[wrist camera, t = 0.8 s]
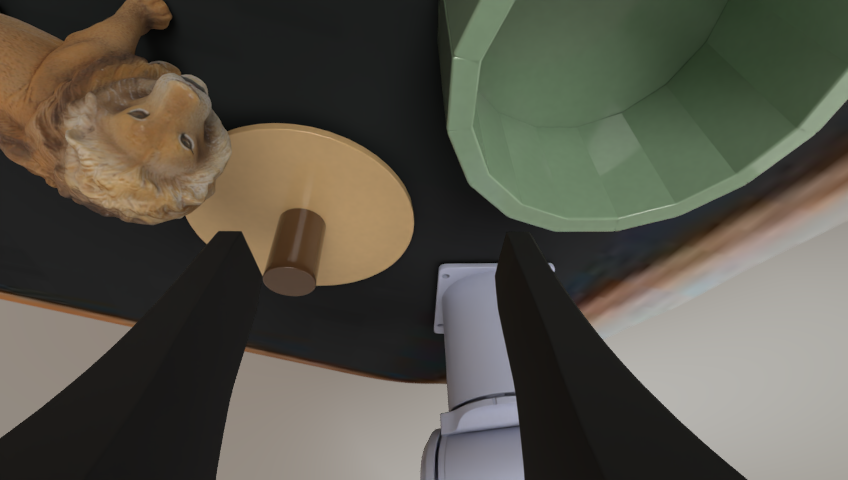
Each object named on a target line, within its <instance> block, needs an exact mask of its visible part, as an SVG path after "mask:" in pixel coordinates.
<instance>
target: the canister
mask: <svg viewBox="0 0 848 480" xmlns="http://www.w3.org/2000/svg"><path fill="white" fill-rule="evenodd" d="M437 42H438V51H439V61H440V71H441V80H442V90H443V100H444V109H445V119H446V128H447V134H448V136H449V139H450V141H451V144H452V146H453V148H454V151H455V153H456V156H457V158H458V160H459V163H460V165H461V168H462V170H463V173H464V175H465V177H466V180H467V182H468V183H469V185H470V186H471V187H472V188H473V189H475V190H476V191H477V192H478V193H479V194H481V195H482V196H483V197H484V198H485V199H487V200H488V201H489V202H490V203H491V204H493V205H494V206H495V207H496V208H497V209H498V210H500V211H501V212H502V213H503V214H504V215H506V216H507V217H509V218H512V219H515V220H518V221H522V222H525V223H528V224H531V225H535V226H538V227H541V228H545V229H548V230H551V231H554V232H613V231H620V230H624V229H628V228H632V227H636V226H640V225H644V224H649V223H653V222H657V221H661V220H665V219H669V218H673V217H677V216H678V215H679V216H680V215H682V214H685V213H687V212H689V211H691V210H693V209H695V208H697V207H699V206H702V205H704V204H706V203H708V202H710V201H712V200H714V199H716V198H719V197H721V196H723V195H725V194H727V193H729V192H731V191H734V190H736V189H738V188H740V187H742V186H744V185H746V183H749V182H750V181H752V180H753V179H755V178H756V177H757V176H759V175H760V174H761V173H763V172H764V171H766V170H767V169H768V168H770V167H771V166H772V165H774V164H775V163H777V162H778V161H779V160H781V159H782V158H783V157H785V156H786V155H788V154H789V153H790V152H792V151H793V150H794V149H796V148H797V147H799V146H800V145H801V144H803V143H804V142H805V141H807V140H808V139H810V138H811V137H812V136H814V135H815V134H816V132H818V131H820V129H821V128H822V127H823V126H824V125H825V124H826V123H827V122H828V121H829V119H830V118H831V117H832V116H833V115H834V114H835V113H836V112H837V110H838V109H839V108H840V107H841V106H842V105H843V104H844V103H845V102H846V100H847V99H848V0H439V5H438V41H437Z"/></svg>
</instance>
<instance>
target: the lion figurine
mask: <svg viewBox="0 0 848 480" xmlns="http://www.w3.org/2000/svg"><path fill="white" fill-rule="evenodd" d="M171 19H172V14H171V12H170V11H169V8H168V6H167V5H166V3H165V2H164V1H163V0H126V1H125V2H124V4H123V5H122V6H121V7H120V8H119V9H118V11H117V12H116V13H115V15H113V16H112V17H110V18H108V19H106V20H104V21H102V22H100V23H97V24H95V25H93V26H91V27H89V28H87V29H84V30H82V31H77V32H74V33H72V34H70V35H69V36H67V37H66V39H65V41H62V40H61V39H59V38H57V37H55V36H53V35H51V34H49V33H47V32H45V31H42V30H40V29H38V28H36V27H34V26H32V25H30V24H28V23H25V22H23V21H21V20H18V19H16V18H13V17H10V16H7V15H4V14H1V13H0V149H1V150H2V151H3V152H4V154H5V155H6V156H7V157H8V158H9V159H10V160H12V161H14V162H15V163H17V164H19V165H22V166H24V167H25V168H26V169H27V170H29V171H30V172H31V173H33V174H35V175H39V176H41V177H43V178H44V179H45V181H46V183H47V184H48V185H50V186H51V187H55V188H58V191H59V193H60V195H61V196H63V197H65V198H72V199H73V200H74V202H76V203H78V204H83V205H85V206H86V207H87V208H89V209H91V210H92V211H94V212H97V213H100V214H101V215H102V216H105V217H112V216H114V217H117V218H120V219H121V220H123V221H125V222H133V223H138V224H148V225H156V224H159V223H162V222H165V221H169V220H172V219H180V218H182V217H184V216H185V215H188V214H190V213H192V212H193V211H194V210H195V209H197V208H198V207H199V206H200V205H201V204H202V203H204V202H205V200H207V199H208V198H210V197H211V196H212V195H213V194H214V193H215V185H216V179H217V178H218V177H219V176H220V175H221V174H222V173H223V172H224V169H225V167H226V165H227V162H228V160H229V159H230V157H231V154H232V147H231V140H230V137H229V135H228V132H227V131H226V129H225V128H224V127H223V125H222V124H221V120H220V119H219V117H218V116H217V115H216V114H215V112H214V111H213V110H212V109H211V100H210V98H209V97H208V90H207V86H206V84H205V83H204V82H203V81H202V80H200V79H199V78H197V77H195V76H193V75H187V74H185V75H181V72H180V70H179V69H178V68H177V67H175V66H174V65H172V64H170V63H167V62H164V61H153V62H150V63H148V61H147V60H146V59H145V58H142V57H139V56H136V55H135V49H136V46H137V43H138V41H139V39H140V37H141V36H142V35H144V34H146V33H147V32H148V31H149V30H150V29H165V28H167V27H168V25H169V22H170V20H171Z"/></svg>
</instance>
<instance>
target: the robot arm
mask: <svg viewBox="0 0 848 480" xmlns="http://www.w3.org/2000/svg"><path fill="white" fill-rule="evenodd" d="M554 271H555V268H554V265H553V264H552V263H548V262H547V260H546V259H545V257H544V255H543V254H542V252H541V250H540V249H539V247H538V245H537V244H536V242H535V240H534V238H533V237H532V235H531V234H530V233H529V232H507V233H506V237H505V240H504V244H503V247H502V251H501V254H500V258H499V262H498V263H457V264H442V265H441V266H439V270H438V282H437V294H436V307H435V319H434V332H435V333H438V334H444V341H445V357H446V373H447V388H448V405H449V412H446V413H441V414H440V418H441V429H436V430H435V431H433V432H432V434H431V436H430V438H429V440H428V442H427V444H426V446H425V448H424V451H423V456H422V461H421V480H747V479H746V478H745V477H744V476H742V475H741V474H740V473H739V472H738V471H736V470H735V469H734V468H733V467H732V466H730V465H729V464H728V463H727V462H725V461H724V460H723V459H722V458H721V457H720V456H718V455H717V454H716V453H715V452H714V451H712V450H711V449H710V448H709V447H708V446H707V445H706V444H704V443H703V442H702V441H701V440H700V439H699V438H698V437H697V436H696V435H695V434H693V433H692V432H691V431H690V430H689V429H688V428H687V427H686V426H684V425H683V424H682V423H681V422H680V421H679V420H678V419H677V418H676V417H675V416H674V415H673V414H672V413H671V412H670V411H669V410H668V409H667V408H666V407H665V406H664V405H663V404H662V403H661V402H660V401H659V400H658V399H657V398H656V397H655V396H654V395H653V394H652V393H651V392H650V391H649V390H648V389H646V388H645V387H644V386H643V385H642V383H641V382H640V381H639V380H638V379H637V378H636V377H635V376H634V375H633V374H632V373H631V372H630V371H629V369H628V368H627V367H626V366H625V365H624V364H623V363H622V362H621V361H620V360H619V358H618V357H617V356H616V355H615V354H614V353H613V351H612V350H611V349H610V348H609V347H608V346H607V345H606V343H605V342H604V341H603V340H602V338H601V337H600V336H599V335H598V333H597V332H596V331H595V330H594V328H593V327H592V326H591V324H590V323H589V322H588V320H587V319H586V318H585V317H584V315H583V314H582V312H581V311H580V310H579V308H578V307H577V306H576V304H575V303H574V301H573V300H572V298H571V297H570V296H569V294H568V293H567V291H566V290H565V288H564V287H563V285H562V284H561V282H560V281H559V279H558V278H557V276H556V275H555V273H554ZM261 281H262V274H261V272H260V270H259V267H258V265H257V263H256V261H255V259H254V257H253V255H252V252H251V250H250V248H249V246H248V244H247V242H246V240H245V237H244V235H243V233H242V231H218V232H217V233H216V234H215V235H214V237H213V238H212V239H211V240H210V241H209V242H208V244H207V245H206V246H205V247H204V248H203V250H202V251H201V252H200V253H199V254H198V255H197V257H196V258H195V259H194V260H193V261H192V263H191V264H190V265H189V266H188V267H187V268H186V270H185V271H184V272H183V273H182V274H181V275H180V277H179V278H178V279H177V280H176V281H175V282H174V283H173V285H172V286H171V287H170V288H169V289H168V290H167V291H166V292H165V294H164V295H163V296H162V297H161V298H160V299H159V300H158V301H157V302H156V303H155V305H154V306H153V307H152V308H151V309H150V310H149V311H148V312H147V313H146V314H145V315H144V316H143V317H142V318H141V319H140V320H139V321H138V322H137V323H136V324H135V325H134V326H133V327H132V328H131V329H130V331H128V332H127V333H126V334H125V335H124V336H123V337H122V338H121V339H120V340H119V341H118V342H117V343H116V344H115V345H114V346H113V347H112V348H111V349H110V350H109V351H108V352H107V353H106V354H104V355H103V356H102V357H101V358H100V359H99V360H98V361H97V362H95V363H94V364H93V365H92V366H91V367H90V368H89V369H88V370H86V371H85V372H84V373H83V374H82V375H81V376H79V377H78V378H77V379H76V380H75V381H73V382H72V383H71V384H70V385H69V386H67V387H66V388H65V389H64V390H63V391H61V392H60V393H59V394H58V395H56V396H55V397H54V398H53V399H51V400H50V401H49V402H48V403H46V404H45V405H44V406H43V407H42V408H40V409H39V410H38V411H36V412H35V413H34V414H32V415H31V416H30V417H28V418H27V419H26V420H24V421H23V422H22V423H20V424H19V425H18V426H16V427H15V428H14V429H12V430H11V431H10V432H8V433H7V434H5V435H4V436H3V437H1V438H0V480H216V474H217V467H218V461H219V456H220V450H221V444H222V438H223V433H224V427H225V422H226V417H227V412H228V407H229V402H230V398H231V394H232V389H233V386H234V383H235V379H236V376H237V373H238V369H239V366H240V363H241V360H242V357H243V353H244V350H245V347H246V344H247V340H248V337H249V334H250V331H251V327H252V324H253V321H254V317H255V314H256V310H257V305H258V300H259V294H260V288H261Z"/></svg>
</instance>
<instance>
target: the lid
mask: <svg viewBox="0 0 848 480" xmlns="http://www.w3.org/2000/svg"><path fill="white" fill-rule="evenodd" d="M227 132H228V135H229V137H230V140H231V147H232V154H231V157H230V159H229V160H228V162H227V165H226V167H225V169H224V172H223V173H222V174H221V175H220V176H219V177H218V178H217V179H216V185H215V193H214V194H213V195H212V196H211V197H210V198H208V199H207V200H205V202H204V203H202V204H201V205H200V206H199V207H198V208H197V209H195V210H194V211H193V212H192V213H190V214H188V215H185V216H186V218H187V220H188V222H189V224H190V225H191V227H192V228H193V229H194V231H195V232H196V234H197V235H198V236H199V237H200V238H201V239H202V240H203V241H204V242H205V243H206V244H208V242H209V241H210V240H211V239H212V238H213V237H214V235H215V234H216V233H217V232H218V231H242V233H243V235H244V237H245V240H246V242H247V244H248V246H249V248H250V250H251V252H252V255H253V257H254V259H255V261H256V263H257V265H258V267H259V270H260V272H261V274H262V276H263V282H264V284H265V285H266V287H268V288H269V289H270V290H272V291H274V292H276V293H278V294H282V295H286V296H302V295H306V294H309V293H311V292H312V291H313V290H314V289H315V287H316V286H326V285H339V284H346V283H351V282H356V281H359V280H363V279H366V278H369V277H371V276H373V275H376V274H378V273H380V272H382V271H383V270H385V269H387V268H388V267H389V266H391V265H392V264H394V263H395V262H396V261H397V260H398V259H399V258H400V257H401V256H402V254H403V253H404V252H405V250H406V249H407V247H408V245H409V243H410V241H411V238H412V235H413V230H414V211H413V205H412V202H411V198H410V196H409V194H408V191H407V189H406V187H405V186H404V184H403V183H402V181H401V180H400V178H399V177H398V175H397V174H396V173H395V172H394V171H393V170H392V169H391V168H390V167H389V166H388V165H387V164H386V163H385V162H384V161H383V160H381V159H380V158H379V157H378V156H377V155H375V154H374V153H372V152H371V151H369V150H368V149H366V148H365V147H363V146H361V145H359V144H357V143H355V142H353V141H352V140H350V139H348V138H345V137H343V136H340V135H337V134H335V133H332V132H329V131H326V130H322V129H318V128H315V127H310V126H304V125H298V124H286V123H264V124H254V125H249V126H243V127H239V128H236V129H233V130H230V131H227Z"/></svg>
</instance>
